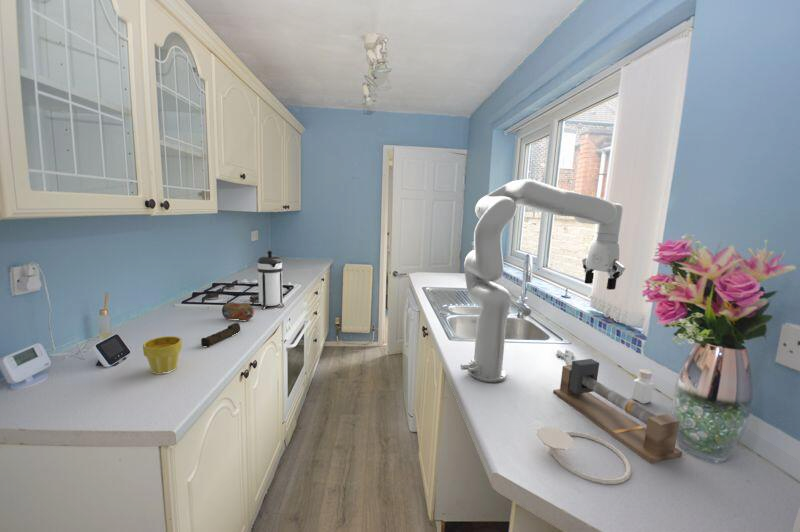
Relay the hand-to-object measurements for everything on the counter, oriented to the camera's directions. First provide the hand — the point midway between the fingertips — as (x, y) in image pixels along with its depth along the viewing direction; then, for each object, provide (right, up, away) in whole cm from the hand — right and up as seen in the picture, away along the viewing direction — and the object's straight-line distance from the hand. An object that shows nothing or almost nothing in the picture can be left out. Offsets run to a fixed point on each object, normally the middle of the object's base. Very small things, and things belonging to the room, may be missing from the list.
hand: (599, 286), depth 129 cm
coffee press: (-142, -14, +65) cm, 157 cm away
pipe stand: (-14, -35, -30) cm, 48 cm away
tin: (-148, -18, +40) cm, 154 cm away
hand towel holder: (-30, -38, -45) cm, 66 cm away
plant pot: (-149, -27, -12) cm, 152 cm away
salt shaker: (+2, -34, -19) cm, 39 cm away
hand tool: (-144, -23, +17) cm, 147 cm away
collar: (-17, -30, -21) cm, 41 cm away
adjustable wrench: (-9, -30, +4) cm, 32 cm away
